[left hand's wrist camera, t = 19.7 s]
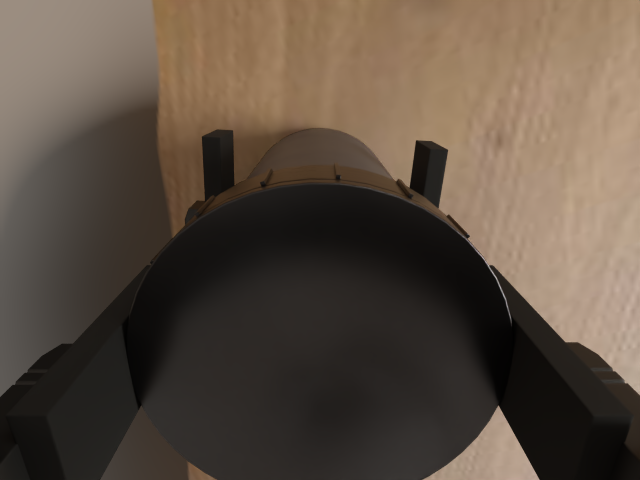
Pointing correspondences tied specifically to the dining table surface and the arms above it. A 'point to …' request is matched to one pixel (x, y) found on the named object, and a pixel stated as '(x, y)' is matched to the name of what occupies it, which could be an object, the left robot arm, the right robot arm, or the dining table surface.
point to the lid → (319, 332)
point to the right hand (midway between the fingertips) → (325, 139)
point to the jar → (320, 152)
